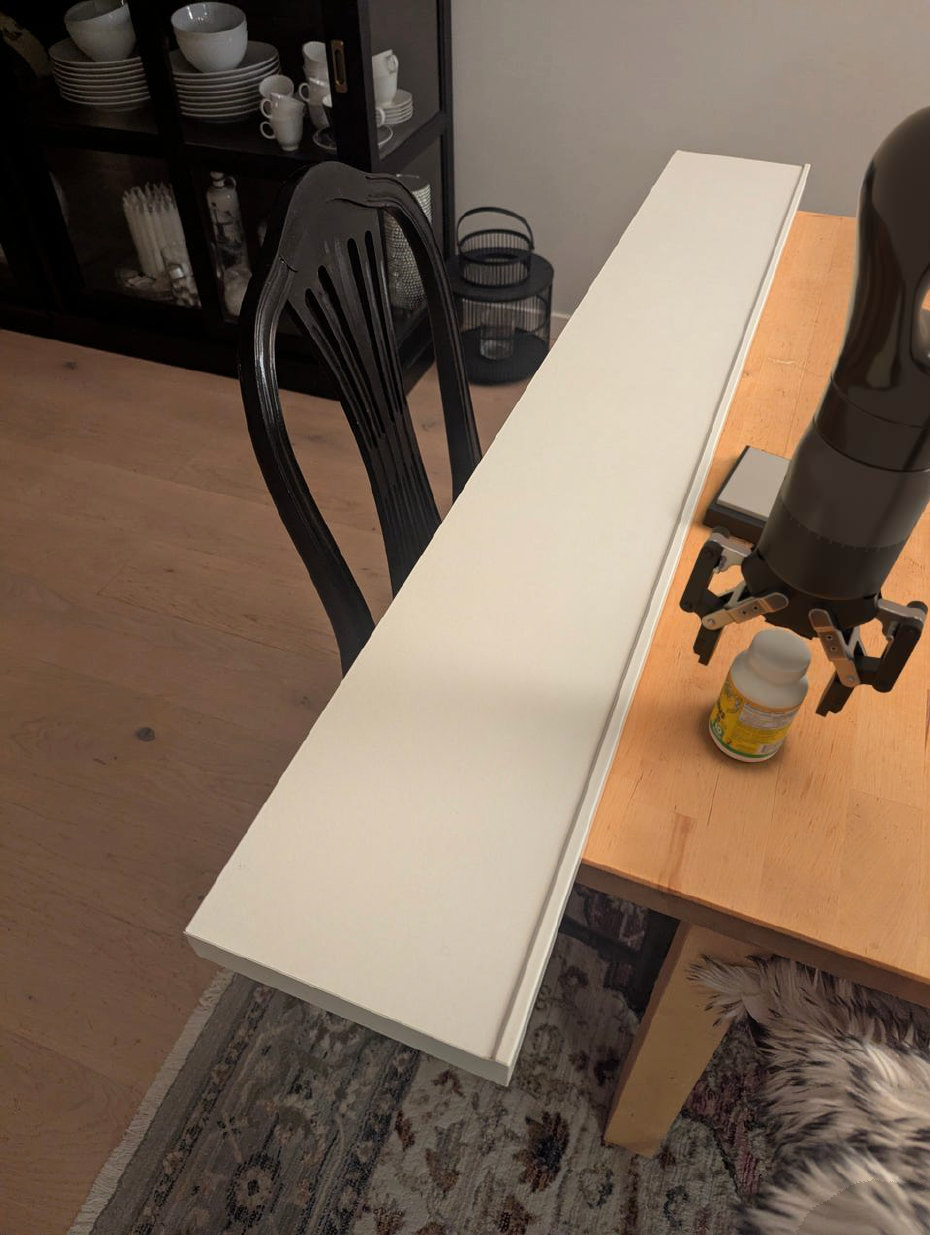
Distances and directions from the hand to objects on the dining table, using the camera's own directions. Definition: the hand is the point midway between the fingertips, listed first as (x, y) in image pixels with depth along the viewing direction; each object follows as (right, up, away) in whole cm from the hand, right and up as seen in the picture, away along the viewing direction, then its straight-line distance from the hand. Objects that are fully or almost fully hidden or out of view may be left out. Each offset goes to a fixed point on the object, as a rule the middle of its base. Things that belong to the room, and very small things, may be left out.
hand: (763, 681), depth 62 cm
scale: (+10, +15, +23) cm, 29 cm away
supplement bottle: (0, -4, +5) cm, 6 cm away
